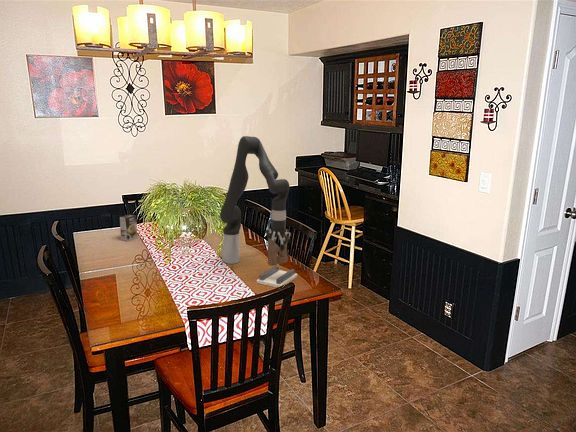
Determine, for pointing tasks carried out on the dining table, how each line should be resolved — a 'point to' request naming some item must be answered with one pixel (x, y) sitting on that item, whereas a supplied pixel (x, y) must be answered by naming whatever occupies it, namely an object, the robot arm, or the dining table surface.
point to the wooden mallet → (272, 253)
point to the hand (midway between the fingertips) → (278, 249)
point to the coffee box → (128, 227)
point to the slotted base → (276, 277)
